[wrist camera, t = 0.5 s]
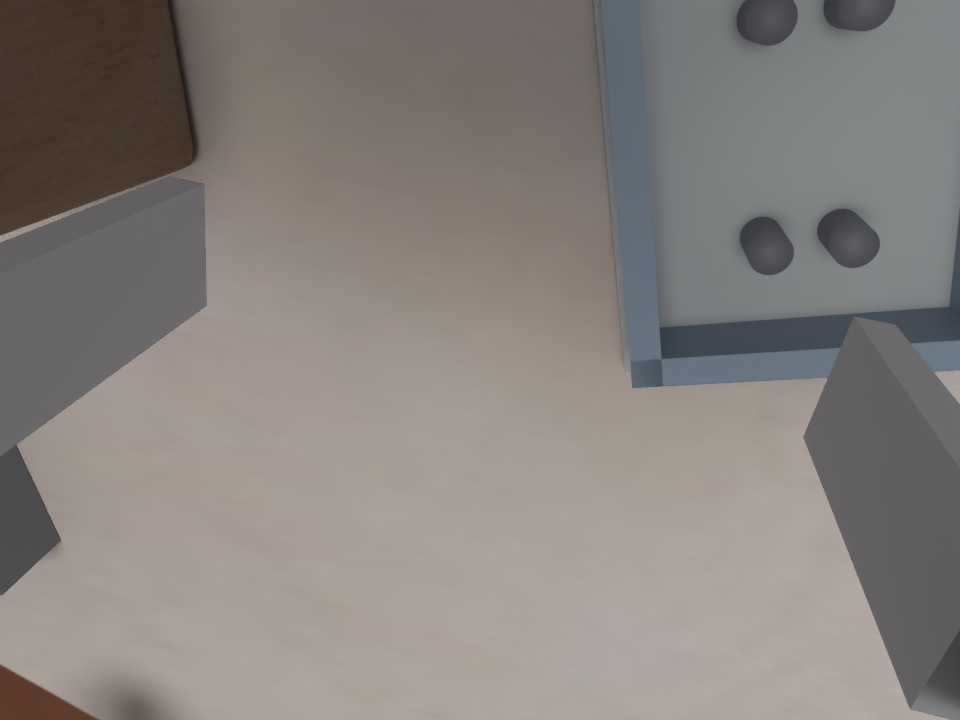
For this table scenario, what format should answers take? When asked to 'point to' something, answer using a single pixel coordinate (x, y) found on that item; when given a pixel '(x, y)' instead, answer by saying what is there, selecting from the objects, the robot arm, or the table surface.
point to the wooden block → (86, 103)
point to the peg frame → (780, 181)
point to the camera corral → (21, 521)
